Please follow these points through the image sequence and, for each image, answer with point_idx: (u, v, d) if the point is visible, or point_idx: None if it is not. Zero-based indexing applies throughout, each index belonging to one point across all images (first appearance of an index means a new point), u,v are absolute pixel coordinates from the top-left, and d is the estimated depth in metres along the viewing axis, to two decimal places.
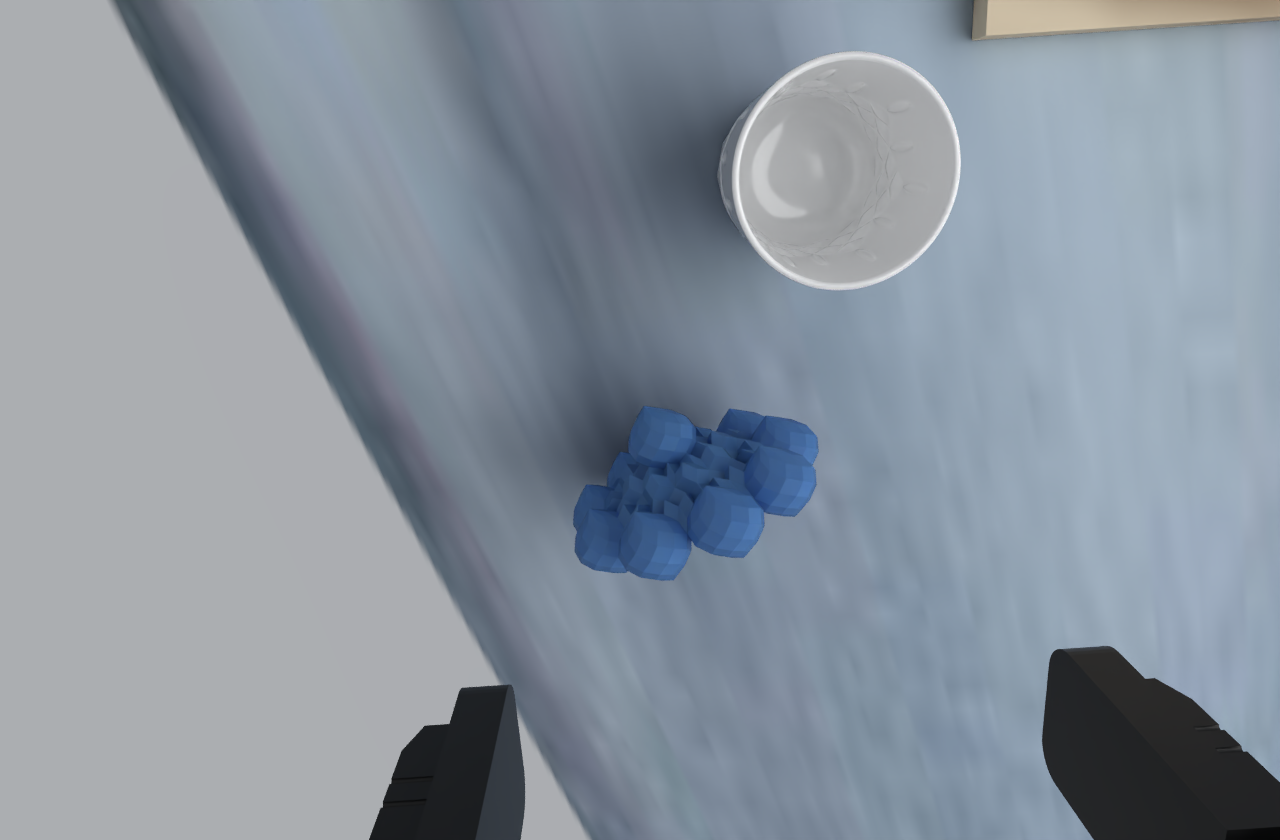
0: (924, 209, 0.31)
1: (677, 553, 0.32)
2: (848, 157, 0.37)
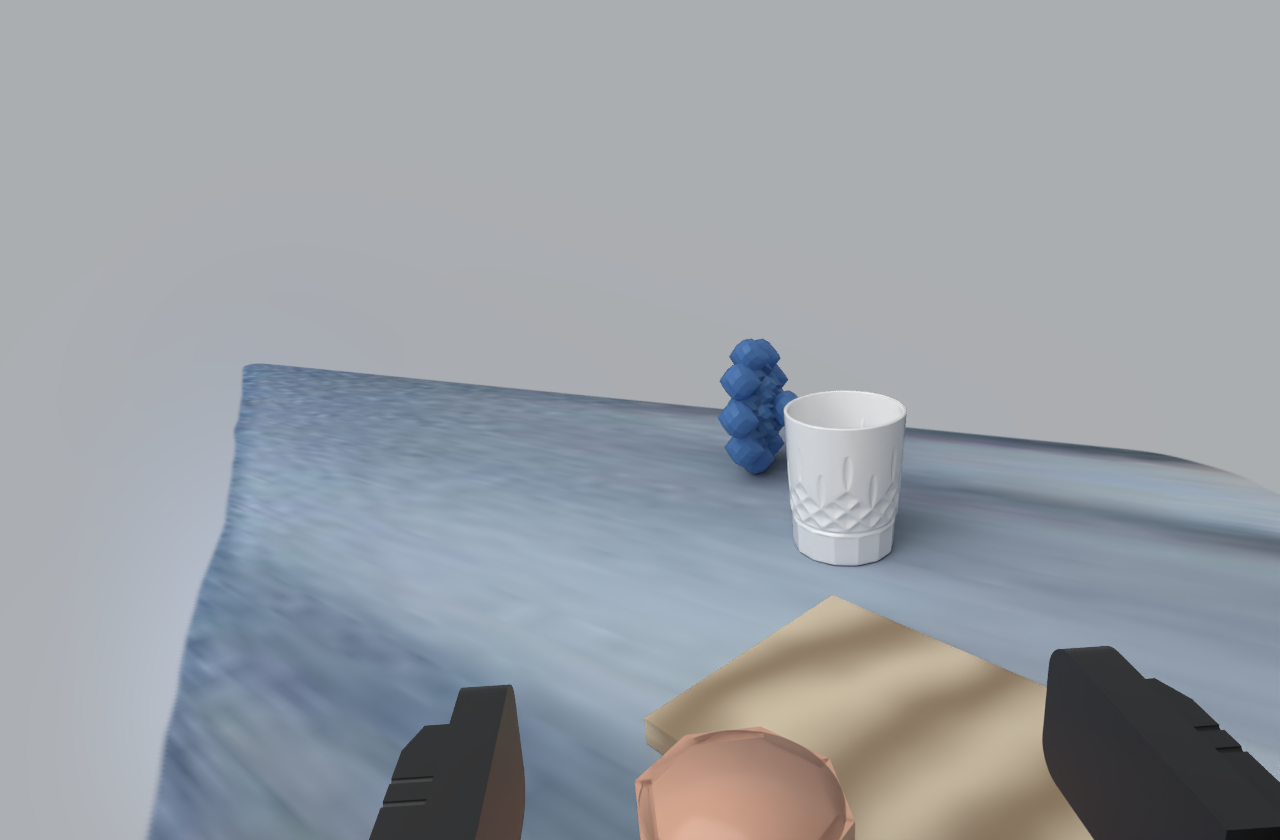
0: None
1: None
2: None
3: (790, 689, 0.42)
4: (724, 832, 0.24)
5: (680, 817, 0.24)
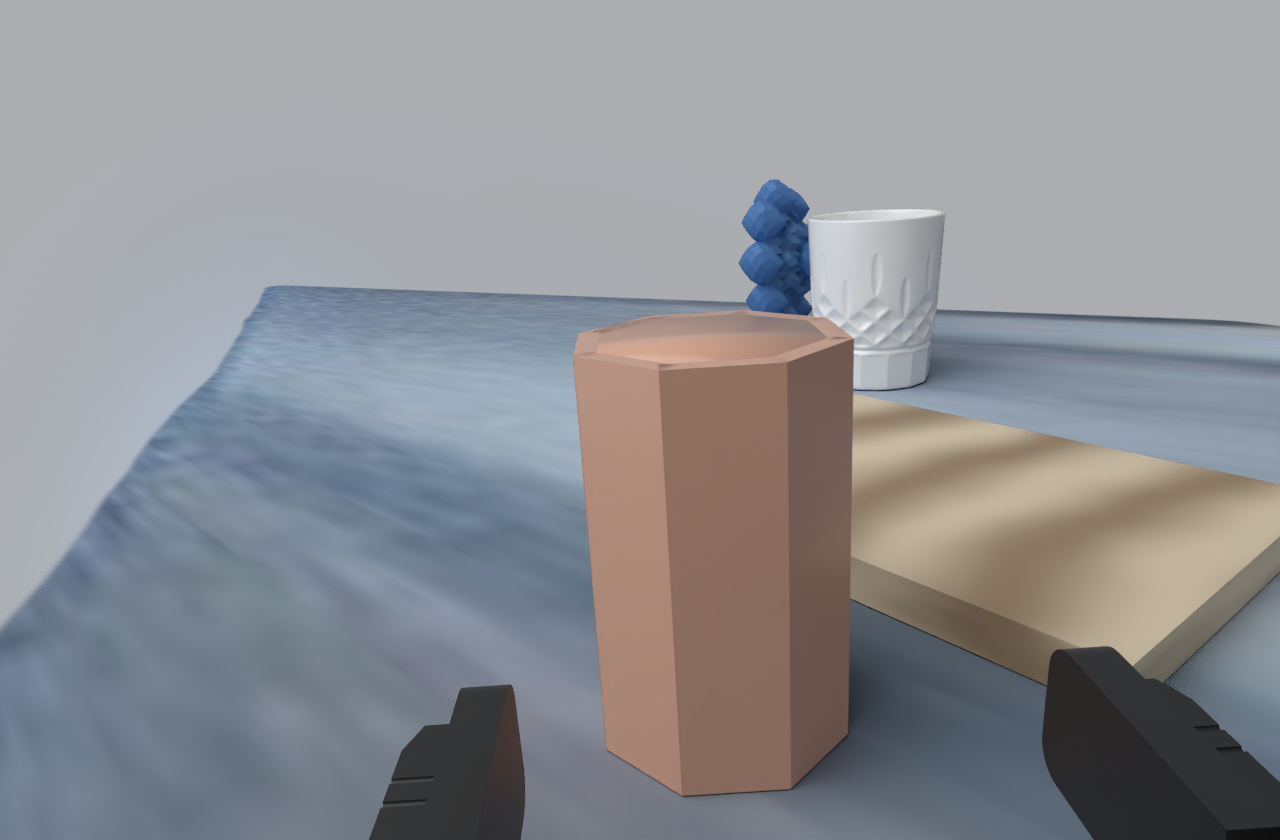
0: None
1: None
2: None
3: None
4: (681, 347, 0.18)
5: (628, 344, 0.19)
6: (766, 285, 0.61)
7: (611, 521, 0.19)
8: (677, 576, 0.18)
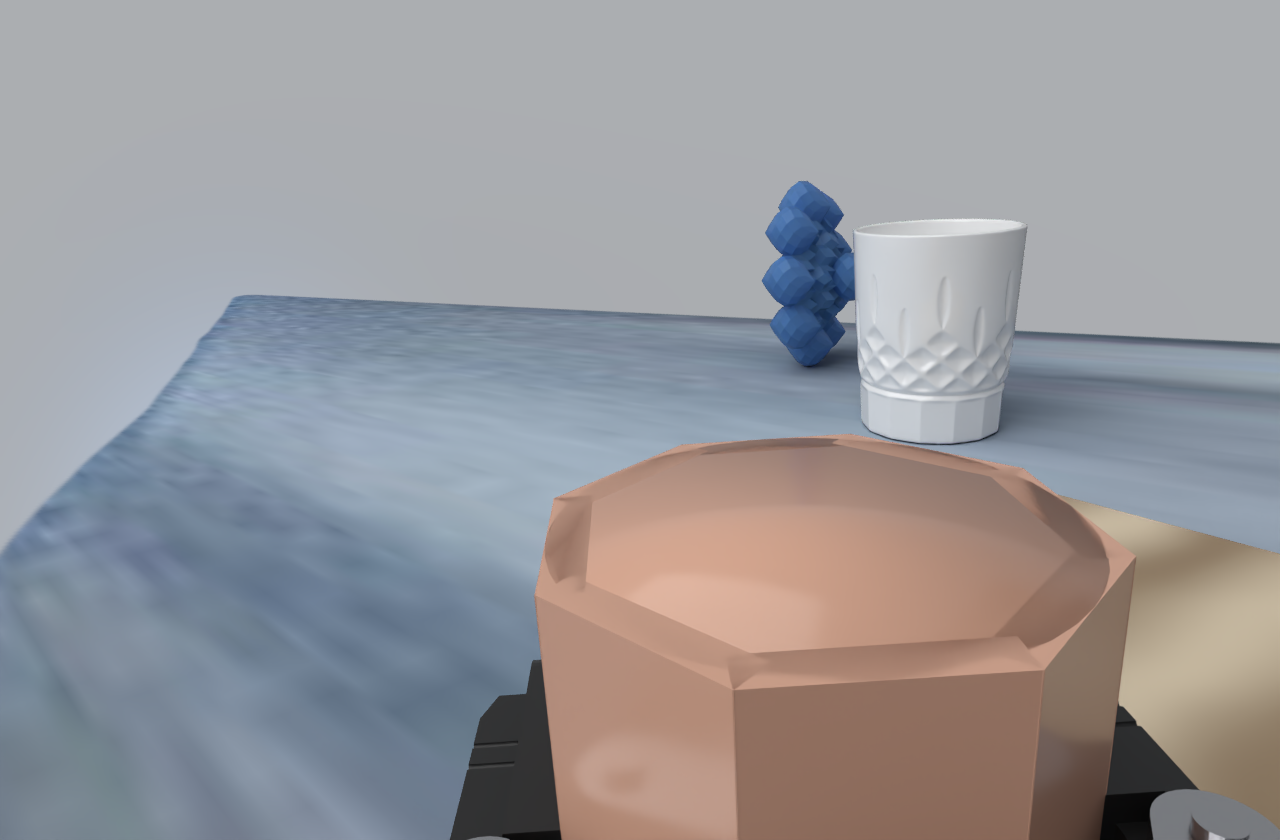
0: None
1: None
2: None
3: None
4: (766, 573, 0.09)
5: (650, 548, 0.09)
6: (794, 307, 0.52)
7: None
8: None
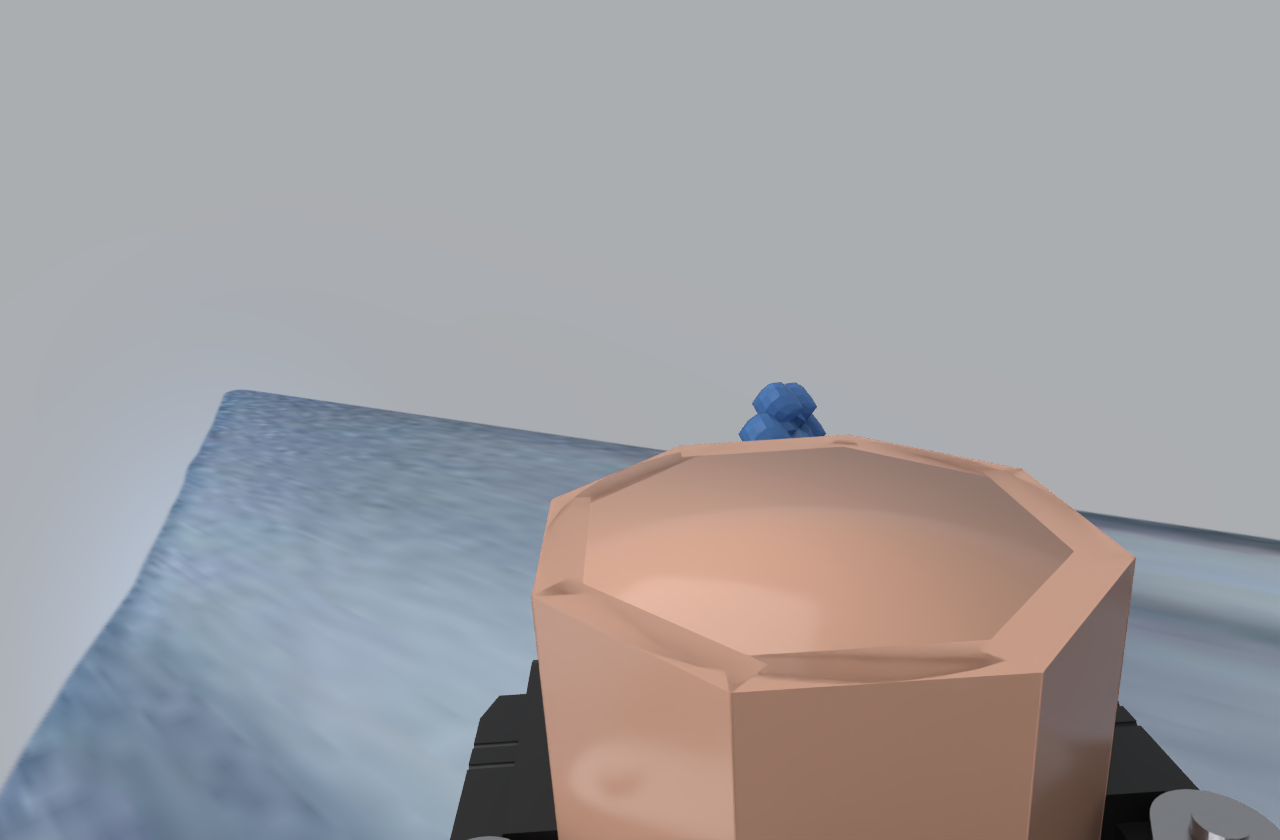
0: None
1: None
2: None
3: None
4: (763, 574, 0.09)
5: (648, 550, 0.09)
6: None
7: None
8: None
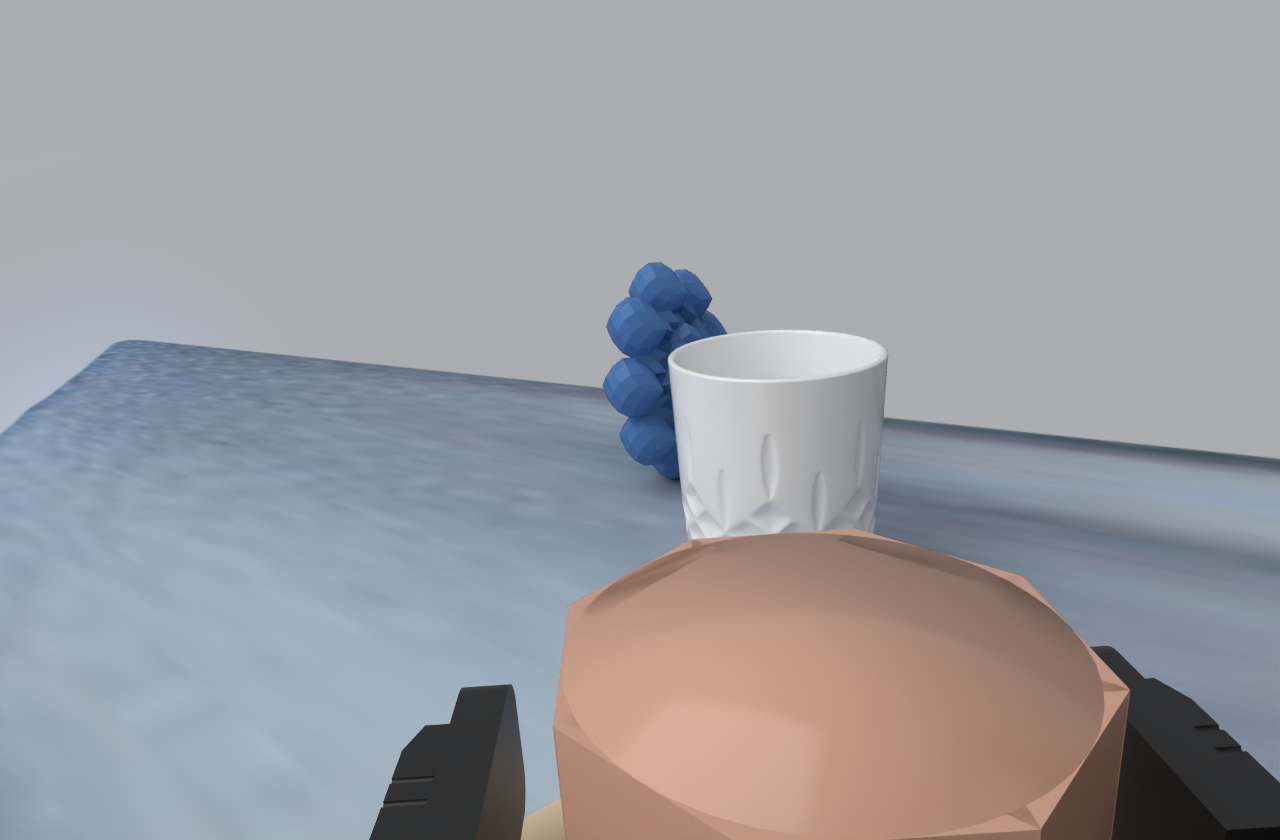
0: None
1: None
2: None
3: None
4: (775, 703, 0.09)
5: (663, 670, 0.10)
6: (643, 417, 0.42)
7: None
8: None
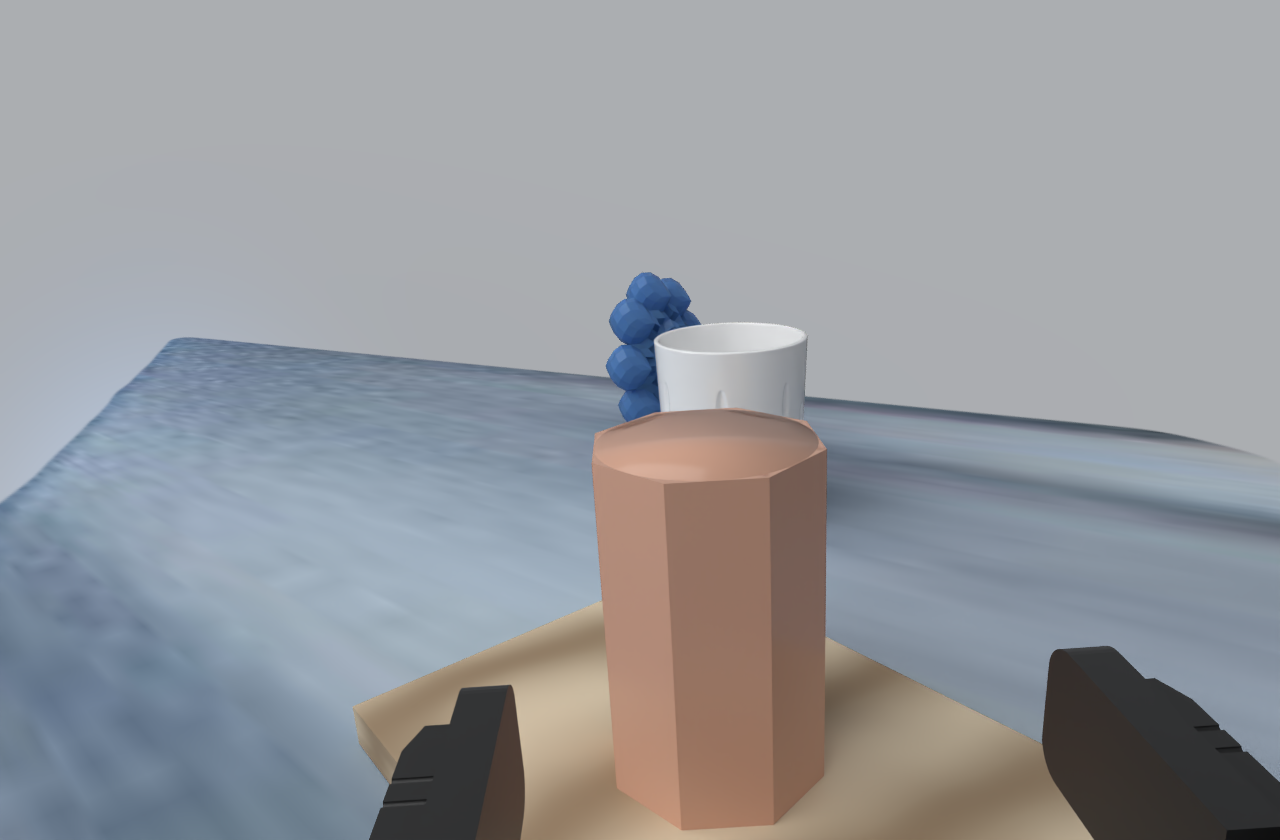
0: None
1: None
2: None
3: (569, 678, 0.30)
4: (682, 455, 0.22)
5: (637, 449, 0.22)
6: (636, 391, 0.55)
7: (622, 599, 0.22)
8: (678, 649, 0.21)
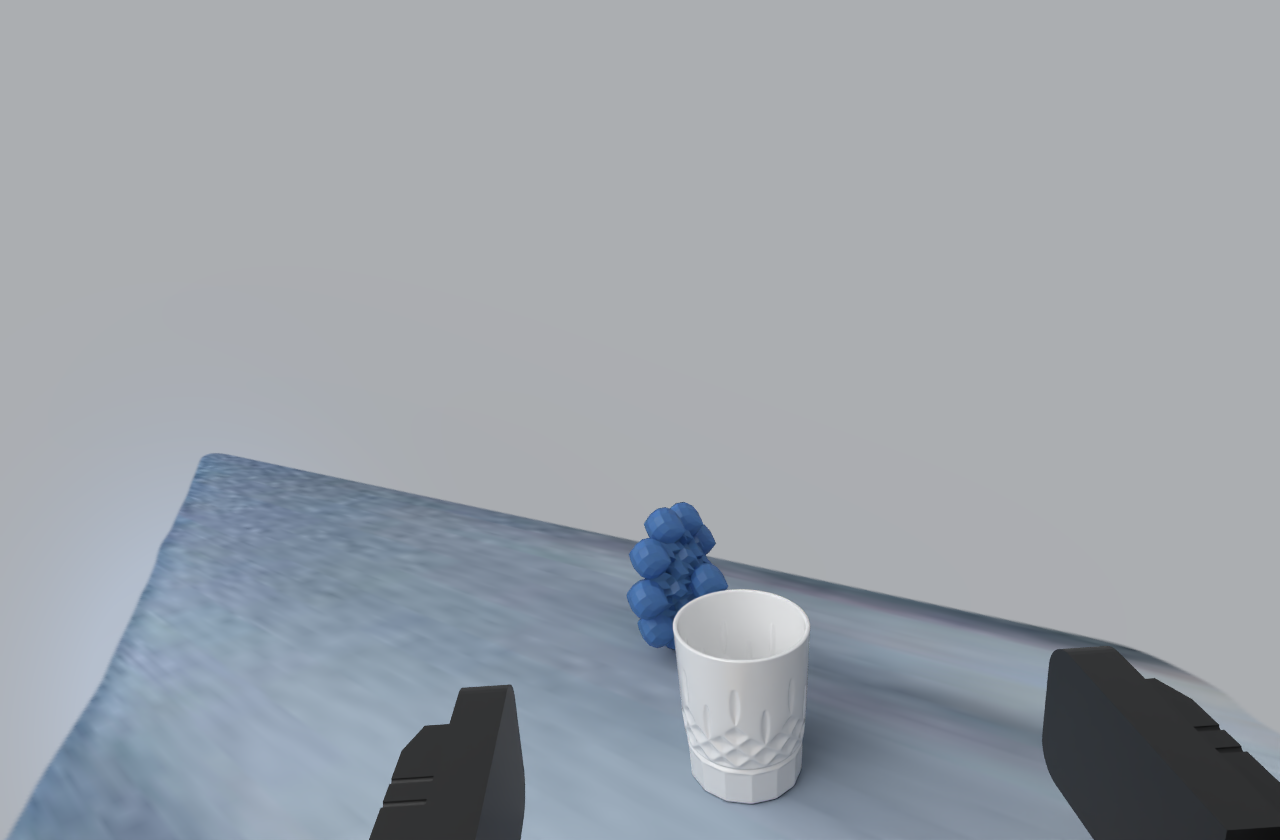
0: None
1: (676, 509, 0.63)
2: None
3: None
4: None
5: None
6: (654, 617, 0.60)
7: None
8: None
